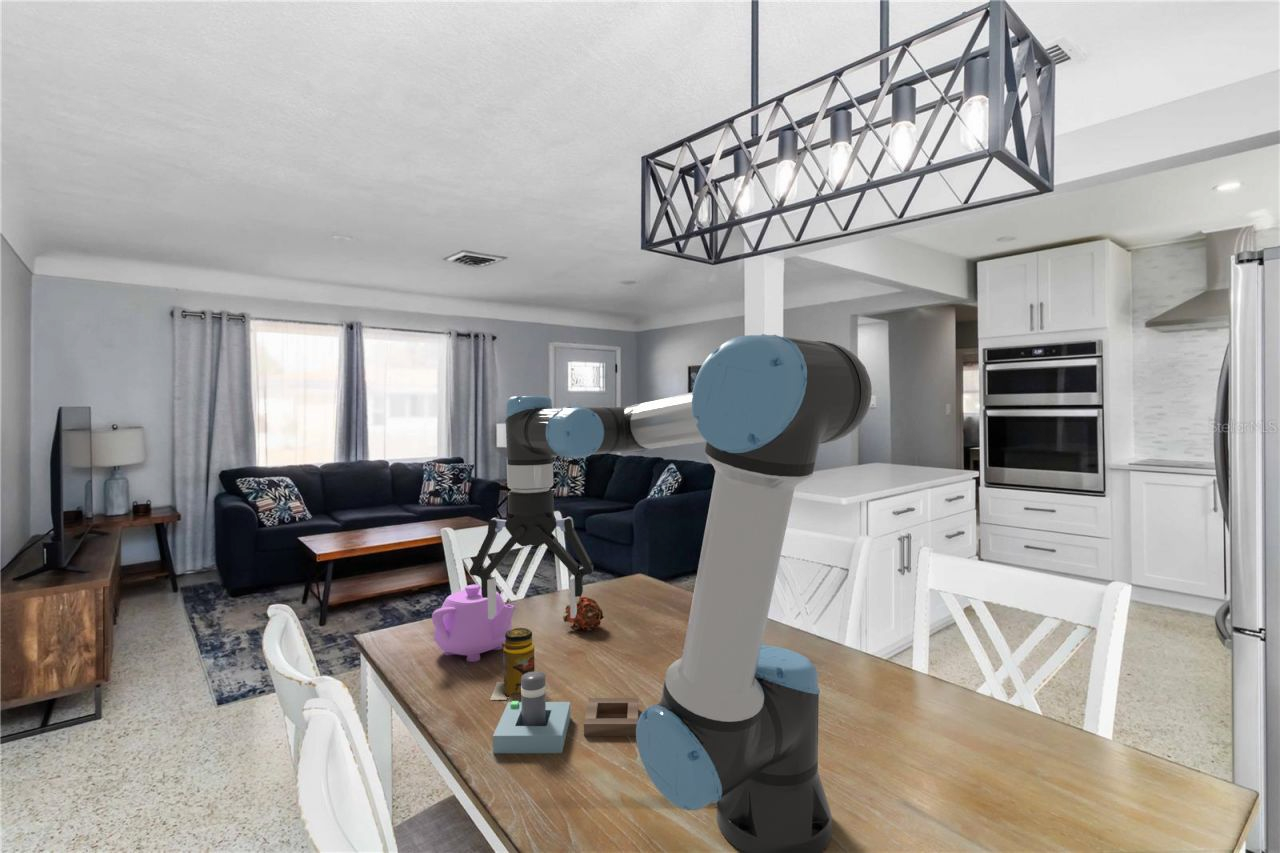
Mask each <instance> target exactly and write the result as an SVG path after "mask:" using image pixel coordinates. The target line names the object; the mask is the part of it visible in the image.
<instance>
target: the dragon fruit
mask: <svg viewBox="0 0 1280 853" xmlns="http://www.w3.org/2000/svg"><path fill="white" fill-rule="evenodd" d="M564 613H565V615H563V616H562V620H563V622H565V623H570V624H572V623H573V624H572V627H573V629H574V630H576V631H579V630H581V629H582V630H583V631H592V630H593V628H598V627H600V626H601V620H603V619H604V618H605V616H604V613H603V610H602V608H601V606H600V605H599V604H598V603H597V601H596V600H595V599H593V598H592V597H588V596H587V597H586V596H581V597H578V601H577V614H576V617H575V618H571V616H570V604H568V605H567V606H566V607H565V611H564Z"/></svg>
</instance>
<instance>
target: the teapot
mask: <svg viewBox="0 0 1280 853" xmlns="http://www.w3.org/2000/svg"><path fill="white" fill-rule="evenodd" d="M515 607H516V606H515V605H512V604H509V603H507V604H506V603H505V601H504V599H503V597H502V596H501V594H500V593H499V591H497V590H496V610H497V614H496V615H495V617H494V618H493V619H488V598H483V597H482V591H481V585H480V584H479V585H478V584H469V585H466V586H465V587H464V589H463V590H459V591H457V592H453V593H451V594H450V595H447V597H446V598H445V600H444V602H443V604H442V605H441V607H440V608H437V609H435V610H434V611H433V612H432V614H431V620H432V624H433V626H434V629H433V640H434V643H435V644H436V645H437V646H438V647H439V648H440V649H441V650H442V651H444V652H443V655H444V656H453V655H459V656H466V662H469V663H475V662H478V661H480V660H481V659H482V658H481V654H482V653H485V652H489V651H499V650H503V648H504V646H503V643H505V640H506V639H505V634H506V632H507V631H509V630H511V629H513V628H512V618H513V615H514V611H515V609H516V608H515Z"/></svg>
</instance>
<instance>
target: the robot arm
mask: <svg viewBox="0 0 1280 853" xmlns="http://www.w3.org/2000/svg"><path fill="white" fill-rule="evenodd" d="M871 381H872V380H871V378H870V375H869V372H868V371H867V368H866V366H865V365H864V364H863V363H862V361H861V360H860V359H859V357H858V356H857V355H856V354H854V353H853V352H852V351H850V350H849V349H848V348H846V347H844V346H842V345H839V344H836V343H834V342H826V341H823V340H821V341H820V340H818V341H817V340H809V339H800V338H794V337H785V336H779V335H777V334H763V333H762V334H757V335H756V334H754V335H753V334H750V335H748V334H747V335H741V336H735V337H734V338H730V339H729V340H726V341H725V342H723V343H722V344H721V345H719V347H718V348H716V349H714V350H713V351H712V352H711V353H710V354H709V355H708V356H707V357H706V358H705V360H704V361H703V363H702V364H701V366H700V369H699V370H698V373H697V374H696V378H695V380H694V382H693V383H694V384H693V386H692V392H686V393H682V394H679V395H678V394H677V395H674V396H669V397H665V398H661V399H655V400H652V401H645V402H642V403H636V404H632V405H626V406H614V407H607V406H606V407H604V406H601V407H600V406H597V407H593V406H592V407H590V406H589V407H586V406H583V407H581V406H565V407H553V403H552V402H553V400H552V399H551V398H550V397H549V396H546V395H539V396H538V395H527V396H526V395H523V396H511V397H509V399H507V402H506V409H505V410H506V414H505V415H506V417H505V419H504V422H505V434H506V438H505V440H506V441H505V442H506V460H507V461H506V463H507V464H506V465H507V466H506V470H507V472H506V473H507V475H506V476H507V477H506V479H507V480H506V481H507V482H506V483H507V484H506V485H507V488H508V489H510V490H509V491H508V492H507V518H506V519H499V517H493V518H491V519H490V520H489V521H488V526H487V534H486V536H485V538H484V539H483V542H482V543H481V546H480V548H479V551H478V552H477V555H476V557H475V559H474V561H473V563H472V565H471V566H470V569H469V574H470V576H476V577H478V578H480V581H481V585H480V588H481V591H482V597H483V598H488V619H493V618H494V617H495V615H496V614H497V610H496V591H497V575H492V573H493V572H494V571H495V570H496V569H497V567H498V566H499V565H500V563H501V562H502V561H503V560H504V559H505V557H506V556H507V554H509V552H510V551H511V550H512V549H513V547H514V546H515V545H516V544H518V545H520V546H521V547H528V546H534V547H541V546H543V545H545V546H546V547H547V548H548V549H549V550H551V551H552V553H553V554H554V555H555V556H556V557H557V558H558V559H559V560H560V561H561V563H562V564H563V565H564V566H565V567H566V568H567V570H568V571H569V572H570V574H571V576H570V578H569V599H570V600H569V602H570V604H569V605H570V616H571V618H575V617H576V614H577V602H578V601H577V599H578V598H580V597H582V595H583V592H584V588H583V587H584V585H583V584H584V580H583V578H584V576H587V575H591V574H592V573H593V570H594V565H593V562H592V560H591V558H590V556H589V555H588V552H587V550H586V549H585V547H584V545H583V543H582V541H581V540H580V537H579V535H578V533H577V531H576V530H575V524H574V519H573V518H574V517H572V516H567V517H566V518H560V519H559V518H558V519H556V516H555V502H554V501H555V500H554V499H555V497H554V491H553V489H551V488H552V487H553V486H554V460H553V458H554V457H555V456H557V457H564V458H566V459H574V458H575V459H578V458H579V459H580V458H588V457H589V456H591V455H602V454H603V455H604V454H613V453H631V452H634V453H636V452H640V453H641V452H646V451H650V450H654V449H657V448H667V447H676V446H682V445H691V444H698V443H706V444H705V449H704V455H705V457H706V458H707V460H708V461H709V462H710V464H711V465H712V466H713V469H714V471H715V472H714V479H713V483H712V488H711V496H710V501H709V507H708V513H707V517H706V523H705V528H704V533H703V539H702V543H701V544H702V545H701V550H700V556H699V557H700V558H699V561H698V566H697V567H698V568H697V572H696V573H697V574H696V577H695V578H696V579H695V582H694V583H695V584H694V590H693V595H692V600H691V601H692V602H691V607H690V610H689V615H688V616H689V617H688V622H687V626H686V627H687V628H686V634H685V639H684V646H683V651H682V655H681V658H679V659H677V660H675V661H674V662H672V663H671V664H670V665H669V667H668V668H667V670H666V674H665V677H664V678H665V679H664V682H663V688H662V694H661V697H660V701H659V702H658V703H657V704H651V705H649V706H647V708H646V709H644V710H643V711H642V712H641V713H640V715H639V716H638V721H637V726H636V736H635V740H636V747H637V752H638V754H639V757H640V760H641V762H642V764H643V766H644V770H645V772H646V774H647V776H648V778H649V779H650V780H651V782H652V783H653V785H654V787H655V788H656V789H657V790H658V792H659V793H660V794H661V795H662V797H664V798H665V799H666V800H667V801H669V803H670V804H672V805H674V806H675V807H677V808H679V809H681V810H684V811H687V812H688V811H689V812H690V811H693V812H694V811H699V810H701V809H703V808H706V807H707V806H708V805H710V804H715V803H716V822H717V825H718V828H719V830H720V832H721V834H722V835H723V836H724V838H725V839H726V840H727V841H728V842H729V843H730V844H731V845H732V846H734V847H735V848H736V849H738V850H739V851H741V852H743V853H822V852H823V851H824V850H826V848H827V847H828V845H829V843H830V842H831V839H832V812H831V807H830V805H829V802H828V798H827V796H826V793H825V789H824V786H823V783H822V779H821V777H820V773H819V766H818V765H819V759H818V758H819V707H820V706H819V703H820V702H819V701H820V700H819V698H820V697H819V696H820V693H821V691H820V688H819V679H818V678H819V676H818V674H819V673H818V669H817V667H816V666H815V664H814V663H813V662H812V660H811V659H809V658H808V657H806V656H804V655H802V654H801V653H798V652H796V651H793V650H791V649H787V648H783V647H779V646H775V645H774V646H773V645H767V644H763V640H764V635H765V632H766V631H765V630H766V626H767V621H768V617H769V612H770V607H771V603H772V597H773V592H774V587H775V583H776V579H777V578H776V577H777V573H778V568H779V563H780V559H781V555H782V554H781V553H782V550H783V544H784V540H785V535H786V531H787V526H788V521H789V517H790V512H791V506H792V502H793V498H794V493H795V488H796V487H797V486H798V485H799V484H801V483H803V482H804V481H806V480H808V479H810V478H811V477H812V476H813V473H814V470H815V466H816V461H817V458H818V457H817V456H818V452H819V447H820V444H821V445H822V444H827V443H830V442H831V443H832V442H834V441H835V442H836V441H838V440H841V439H842V438H844V437H847V436H848V435H849V434H851V433H852V432H853V431H855V430H856V429H857V428H858V426H860V425H861V423H862V422H863V420H864V419H865V417H866V415H867V414H868V411H869V409H870V406H871V403H872V402H871V401H872V392H873V391H872V389H873V388H872V382H871ZM557 527H559V528H560V531H561V532H563V533H565V536H566V537H567V539H568V542H569V543H570V545H571V548H572V549H573V552H574V553H575V555H576V557H577V559H578V560H579V563H580V565H579V563H578V562H577V561H576V560H575V559H574V558H573V556H572V555H571V554H570V553H569V551H567V549H566V548H564V546H563V545H562V544H561V542H559V541H558V539H557V537H556V536H555V535H554V534H553V533H554V531H555V530H556V528H557ZM504 528H505V529H506V531H507V532H508V533H509V534H510V538H508V540H507V541H506V542H505V544H504V545H503V546H502V548H501V549H500V550H499V551H498V552H497V554H496V555H494V557H493V558H492V560H491V561H490V562H489V563H488V565H487V566H486V567H483V565H484V563H485V561H486V559H487V556H488V554H489V553H490V550H491V548H492V546H493V544H494V541H495V540H496V538H497V536H498V534H499V533H501V531H502V530H503V529H504ZM577 597H578V598H577Z"/></svg>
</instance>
